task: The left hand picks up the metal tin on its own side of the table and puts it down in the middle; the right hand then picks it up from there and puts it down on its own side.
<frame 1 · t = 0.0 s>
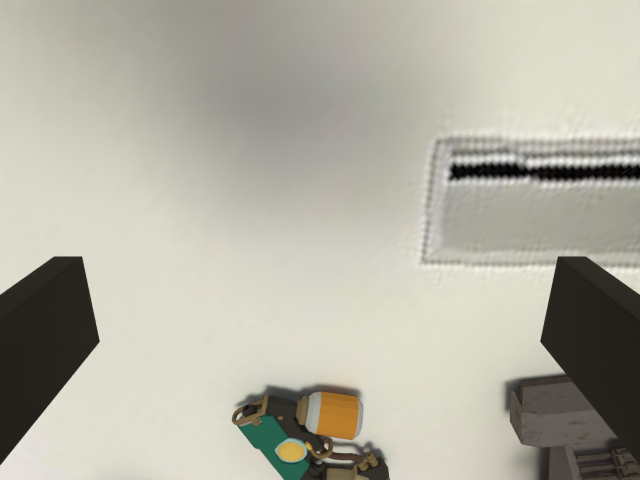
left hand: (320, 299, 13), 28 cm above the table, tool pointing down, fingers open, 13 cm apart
toy: (615, 438, 51), on the table
spray gun: (314, 437, 51), on the table
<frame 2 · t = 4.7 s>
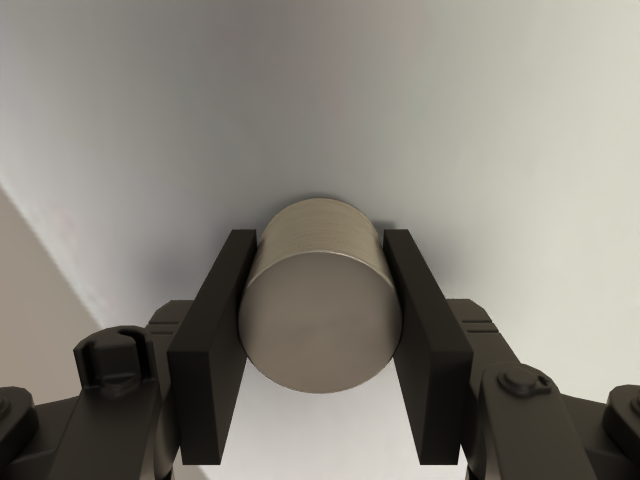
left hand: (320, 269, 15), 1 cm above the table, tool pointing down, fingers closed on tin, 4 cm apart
tin: (320, 256, 15), point 1 cm above the table, touching left hand
when the left hand's fingers open (0 cm above the table, at t = 19.5 s): tin stays where it is, on the table.
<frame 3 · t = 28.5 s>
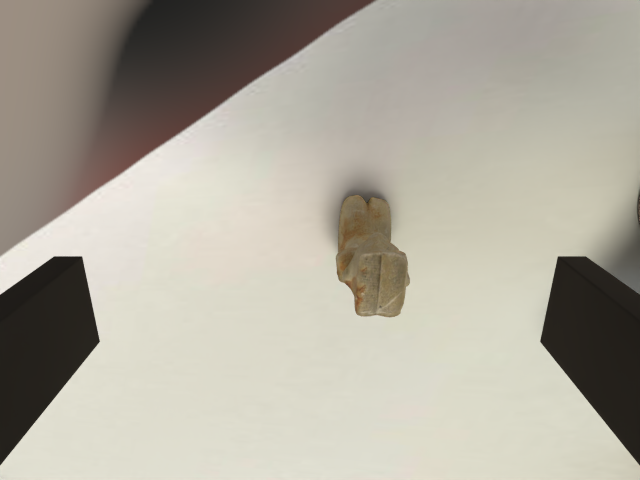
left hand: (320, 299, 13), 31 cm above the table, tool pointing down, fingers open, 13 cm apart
sculpture: (361, 226, 45), on the table
when the right hand's fingers open (2 cm above the table, at t = 32.9 s): tin stays where it is, on the table.
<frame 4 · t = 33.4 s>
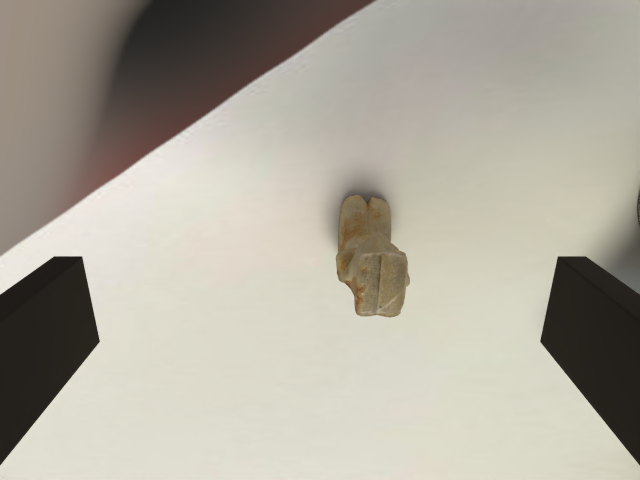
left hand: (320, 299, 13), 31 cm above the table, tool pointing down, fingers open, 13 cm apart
sculpture: (361, 226, 45), on the table
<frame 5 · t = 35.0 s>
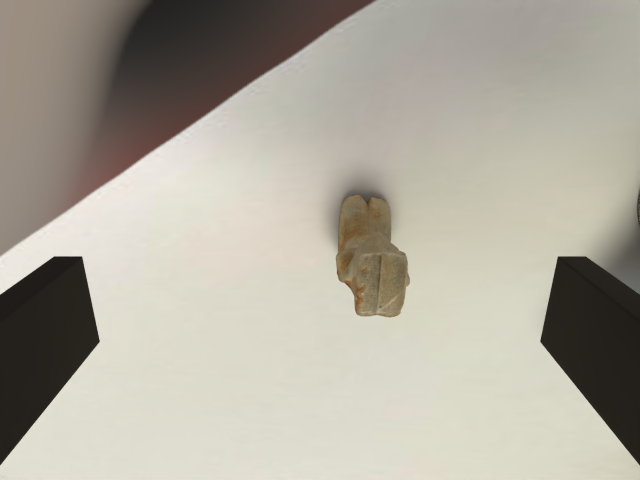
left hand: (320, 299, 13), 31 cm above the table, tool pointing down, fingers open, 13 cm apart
sculpture: (361, 226, 45), on the table
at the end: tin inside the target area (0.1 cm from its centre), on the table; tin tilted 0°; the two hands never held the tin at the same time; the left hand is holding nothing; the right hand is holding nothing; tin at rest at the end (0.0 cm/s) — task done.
